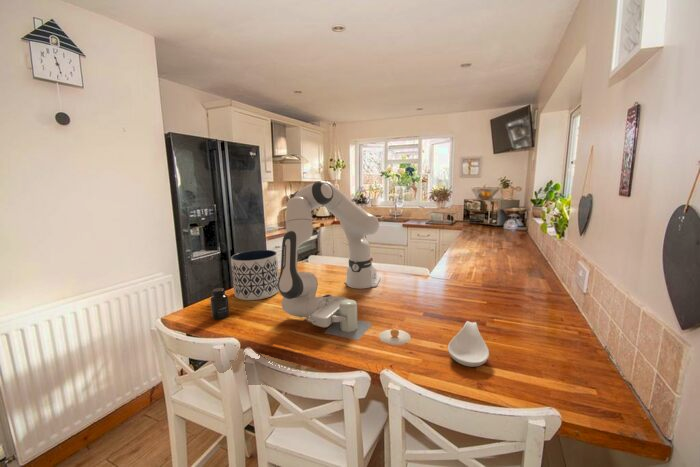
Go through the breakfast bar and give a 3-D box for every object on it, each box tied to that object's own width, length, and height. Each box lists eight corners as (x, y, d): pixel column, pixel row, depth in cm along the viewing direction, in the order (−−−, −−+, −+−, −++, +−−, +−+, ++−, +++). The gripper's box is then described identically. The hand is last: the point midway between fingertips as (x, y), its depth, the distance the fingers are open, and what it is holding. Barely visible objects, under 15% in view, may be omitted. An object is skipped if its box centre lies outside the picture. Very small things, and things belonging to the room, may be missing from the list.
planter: (262, 303, 143) (258, 261, 140) (224, 298, 151) (220, 258, 148) (287, 287, 164) (285, 250, 161) (253, 284, 172) (250, 248, 168)
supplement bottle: (223, 320, 126) (220, 293, 124) (208, 319, 128) (205, 292, 126) (232, 313, 133) (230, 287, 131) (218, 312, 134) (215, 286, 132)
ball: (391, 333, 110) (391, 326, 109) (400, 335, 108) (400, 327, 108) (389, 337, 107) (389, 329, 106) (397, 339, 106) (397, 331, 105)
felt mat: (340, 318, 125) (340, 317, 125) (372, 324, 119) (372, 322, 119) (323, 334, 112) (323, 332, 112) (358, 341, 106) (358, 340, 106)
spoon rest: (488, 376, 86) (489, 353, 84) (445, 367, 90) (445, 345, 89) (488, 337, 107) (489, 318, 106) (453, 331, 112) (453, 313, 111)
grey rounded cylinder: (345, 322, 119) (344, 298, 118) (359, 325, 117) (358, 300, 115) (337, 329, 114) (336, 304, 112) (352, 332, 111) (352, 307, 110)
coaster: (385, 328, 115) (385, 327, 115) (413, 333, 110) (413, 332, 110) (374, 342, 105) (374, 341, 105) (405, 349, 101) (405, 347, 100)
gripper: (303, 311, 110) (337, 317, 104) (330, 292, 128) (360, 296, 122) (304, 328, 111) (338, 335, 105) (331, 306, 129) (361, 311, 124)
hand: (350, 314), depth 114 cm, fingers open, 7 cm apart
